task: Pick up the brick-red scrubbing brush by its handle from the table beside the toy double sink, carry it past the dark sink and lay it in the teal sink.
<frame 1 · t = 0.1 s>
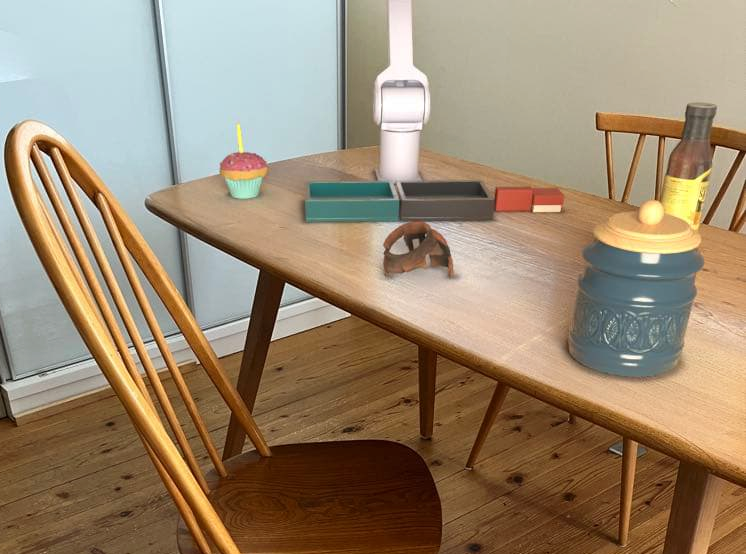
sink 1: (350, 211, 151), on the table
sauce bottle: (671, 248, 137), on the table
canister: (621, 356, 106), on the table
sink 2: (442, 210, 152), on the table
cupcake: (245, 196, 159), on the table
brush: (523, 208, 153), on the table
brown openwork arch: (417, 274, 128), on the table
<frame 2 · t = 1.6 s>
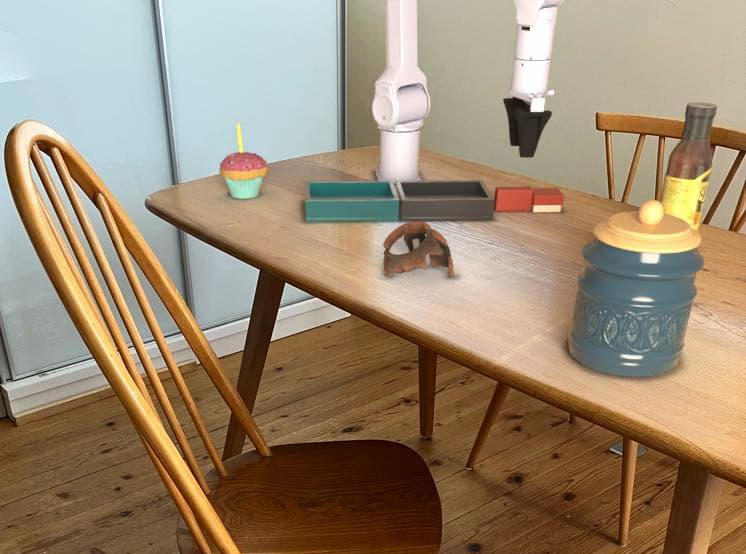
hand: (521, 151, 147), 9 cm above the table, tool pointing down, fingers open, 7 cm apart
nothing on the table moved.
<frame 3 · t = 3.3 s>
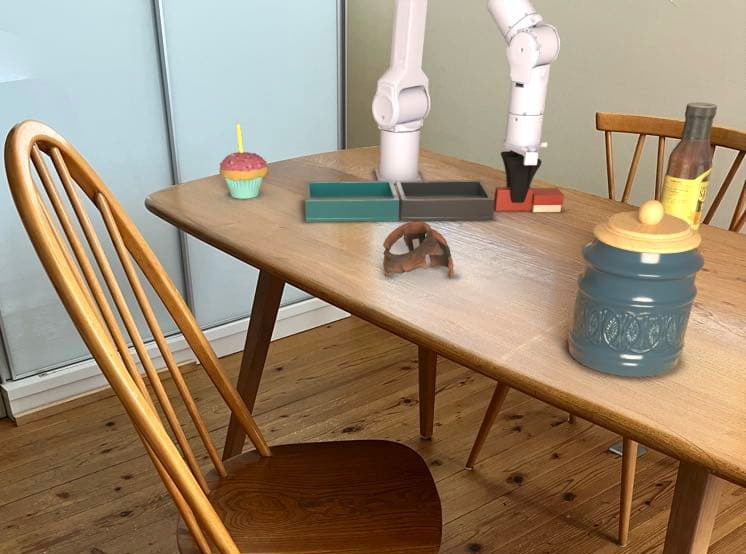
hand: (515, 199, 152), 2 cm above the table, tool pointing down, fingers closed on brush, 2 cm apart
brush: (523, 208, 153), on the table, touching gripper
everything else where it was.
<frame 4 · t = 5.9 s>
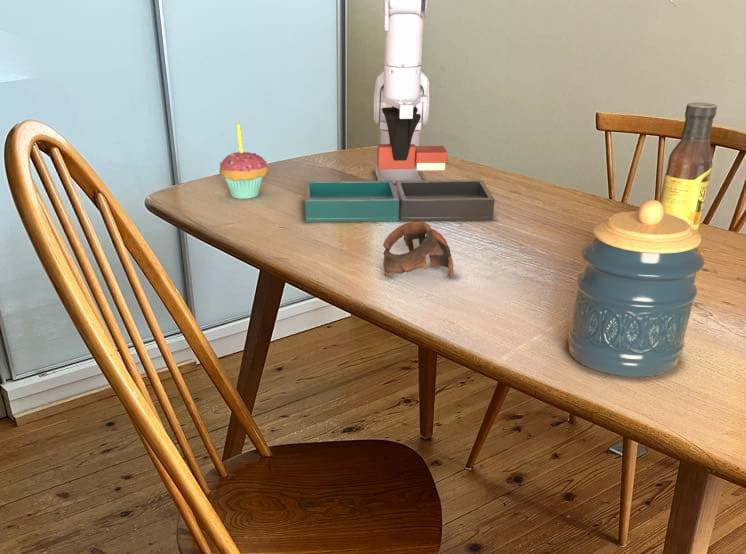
hand: (399, 157, 147), 8 cm above the table, tool pointing down, fingers closed on brush, 2 cm apart
brush: (407, 167, 148), point 7 cm above the table, touching gripper
everything else where it was.
when the fingers open (2 cm above the table, at t = 8.4 s): brush stays where it is, resting on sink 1.
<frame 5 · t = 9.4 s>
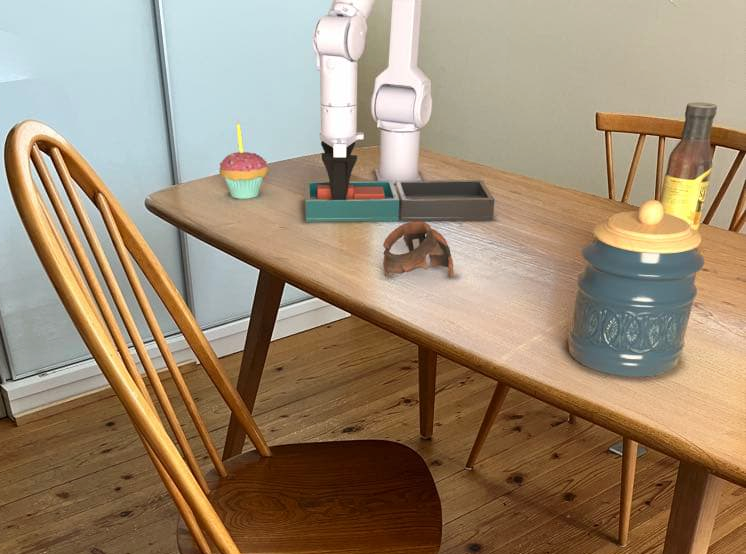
hand: (338, 193, 150), 3 cm above the table, tool pointing down, fingers open, 7 cm apart
brush: (347, 207, 151), point 1 cm above the table, touching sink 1
everything else where it was.
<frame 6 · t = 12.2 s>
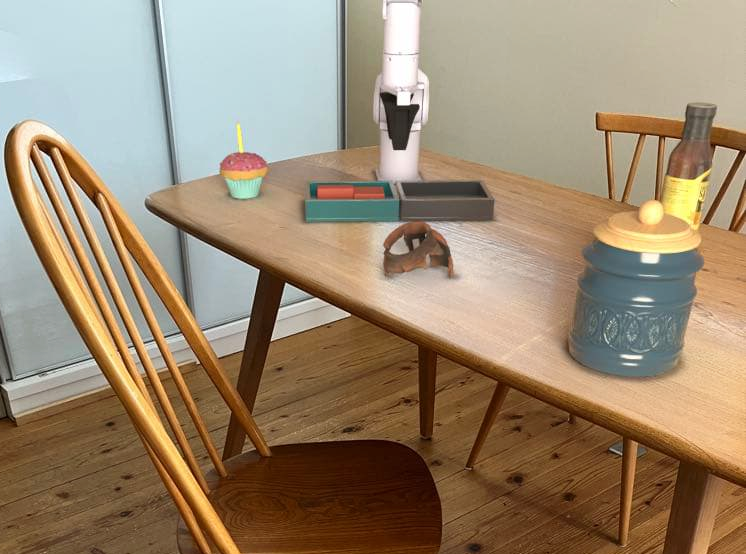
hand: (397, 144, 150), 9 cm above the table, tool pointing down, fingers open, 7 cm apart
nothing on the table moved.
at the end: brush 0.0 cm off-centre in the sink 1, point 0.6 cm above the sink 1's base; brush tilted 0°; the gripper is holding nothing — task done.
